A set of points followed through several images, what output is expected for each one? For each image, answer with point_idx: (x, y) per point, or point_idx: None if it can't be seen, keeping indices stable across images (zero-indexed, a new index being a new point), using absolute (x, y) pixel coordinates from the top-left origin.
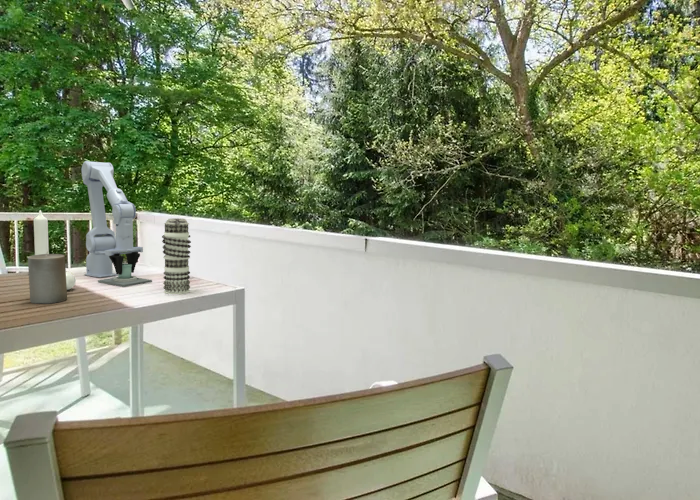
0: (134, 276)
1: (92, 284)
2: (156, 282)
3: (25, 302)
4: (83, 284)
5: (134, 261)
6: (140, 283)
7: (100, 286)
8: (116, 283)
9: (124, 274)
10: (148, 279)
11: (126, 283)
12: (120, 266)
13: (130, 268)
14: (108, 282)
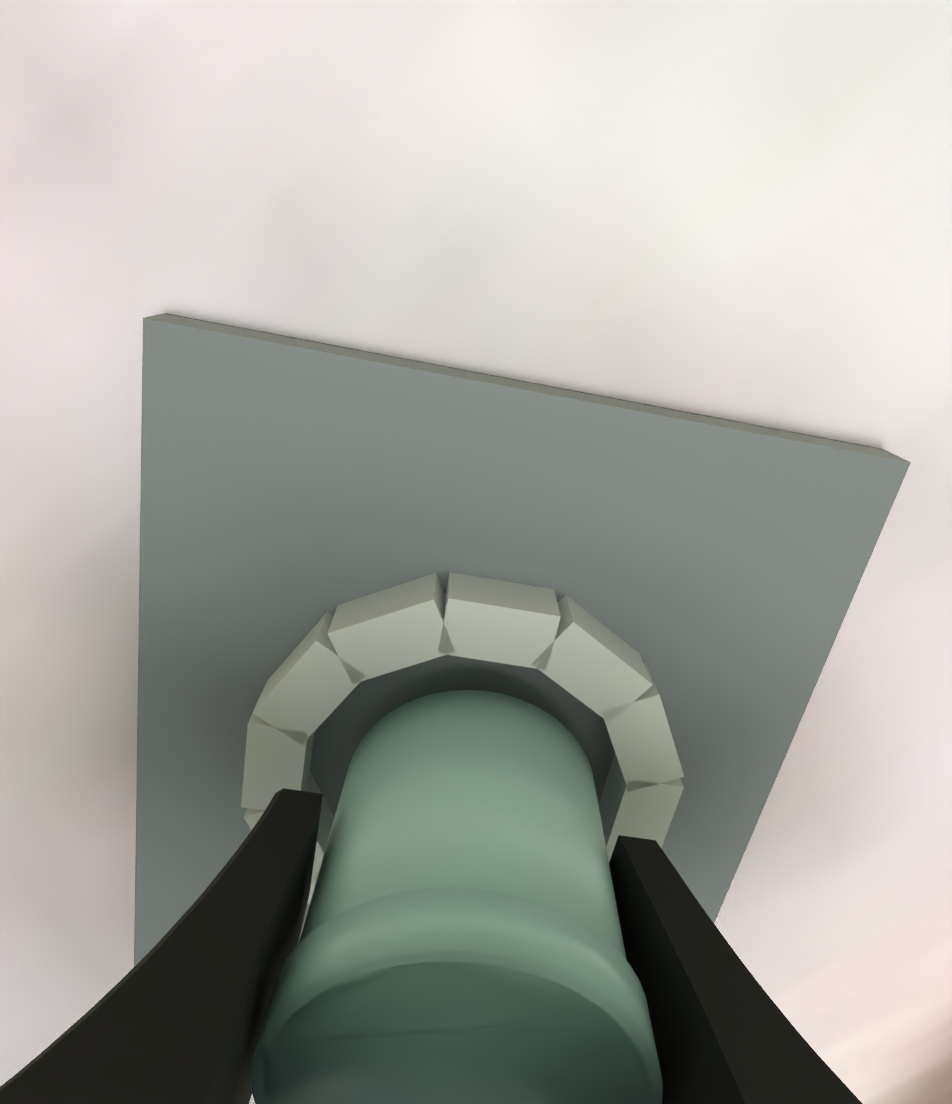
0: (275, 727)
1: (810, 974)
2: (125, 185)
3: None
4: (846, 1047)
5: (203, 1042)
6: (484, 378)
7: (926, 809)
8: (819, 675)
9: (585, 794)
10: (147, 430)
11: (761, 520)
12: (756, 1008)
13: (435, 853)
14: (742, 847)
